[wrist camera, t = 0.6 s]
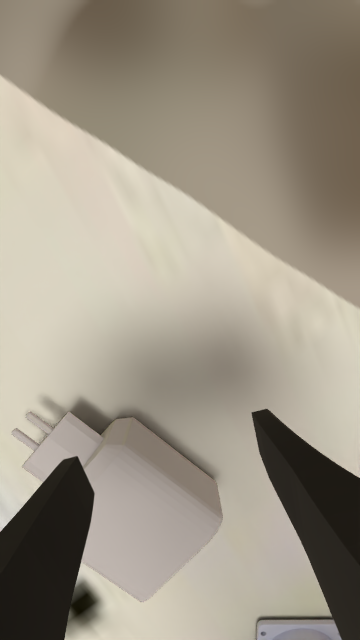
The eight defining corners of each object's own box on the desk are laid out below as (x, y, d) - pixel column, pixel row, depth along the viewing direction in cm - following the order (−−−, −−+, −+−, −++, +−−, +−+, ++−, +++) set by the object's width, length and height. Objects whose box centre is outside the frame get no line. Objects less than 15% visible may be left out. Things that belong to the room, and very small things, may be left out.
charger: (72, 363, 22) (215, 475, 23) (4, 445, 23) (145, 546, 25) (42, 389, 17) (225, 527, 19) (-41, 490, 18) (137, 611, 20)
